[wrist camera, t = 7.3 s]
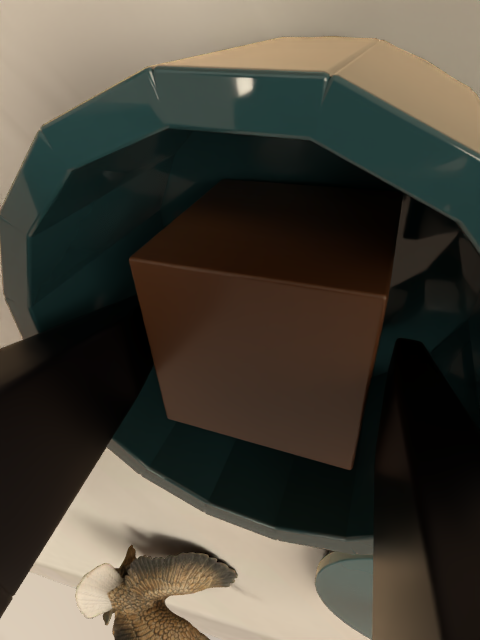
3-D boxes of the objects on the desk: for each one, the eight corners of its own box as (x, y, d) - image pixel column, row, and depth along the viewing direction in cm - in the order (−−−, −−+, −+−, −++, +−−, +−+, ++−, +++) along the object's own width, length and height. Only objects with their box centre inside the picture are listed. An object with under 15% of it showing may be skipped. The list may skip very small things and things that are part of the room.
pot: (129, 287, 14) (9, 399, 10) (211, -59, 7) (-30, -128, 4) (364, 422, 14) (337, 592, 10) (649, 182, 7) (902, 387, 3)
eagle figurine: (158, 599, 32) (248, 658, 26) (71, 665, 26) (161, 759, 20) (152, 504, 31) (242, 542, 26) (63, 549, 26) (152, 611, 20)
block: (232, 315, 12) (165, 419, 9) (221, 178, 9) (126, 258, 6) (374, 341, 11) (351, 472, 8) (403, 191, 8) (388, 296, 5)
